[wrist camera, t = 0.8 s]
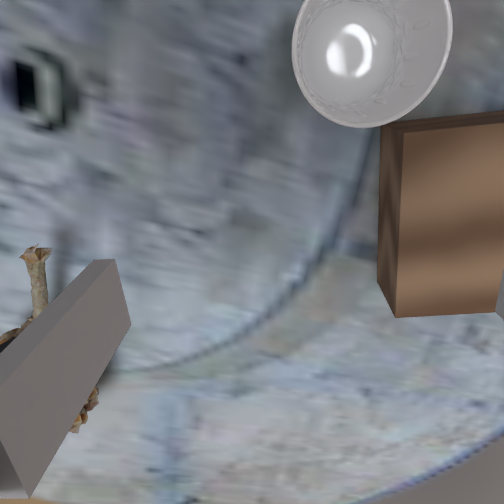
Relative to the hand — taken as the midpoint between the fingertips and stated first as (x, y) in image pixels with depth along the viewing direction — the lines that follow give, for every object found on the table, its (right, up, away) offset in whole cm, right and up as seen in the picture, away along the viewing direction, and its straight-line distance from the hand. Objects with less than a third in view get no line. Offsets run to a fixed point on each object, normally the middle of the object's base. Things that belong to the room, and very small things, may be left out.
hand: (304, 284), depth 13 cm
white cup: (+5, +16, +15) cm, 22 cm away
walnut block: (+16, +5, +19) cm, 25 cm away
